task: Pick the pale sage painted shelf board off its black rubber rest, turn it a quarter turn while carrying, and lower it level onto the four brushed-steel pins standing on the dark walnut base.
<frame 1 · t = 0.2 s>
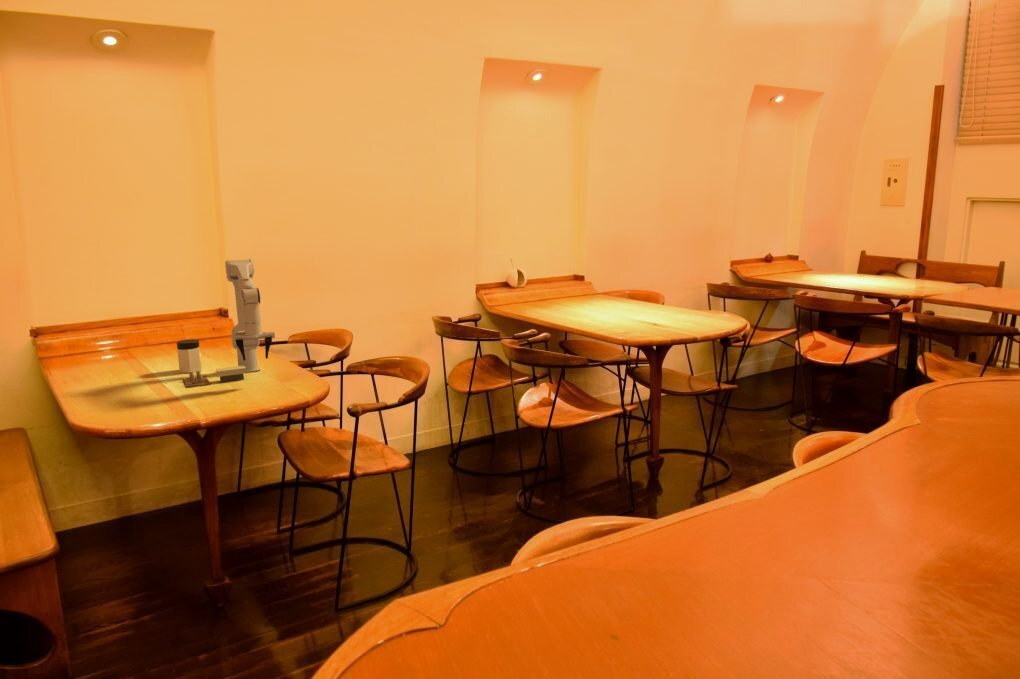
hand: (255, 358, 267), 10 cm above the table, fingers open, 7 cm apart
jar: (190, 371, 293), on the table
peg base: (196, 382, 274), on the table
shelf board: (231, 373, 276), point 2 cm above the table, touching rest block
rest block: (232, 380, 277), on the table
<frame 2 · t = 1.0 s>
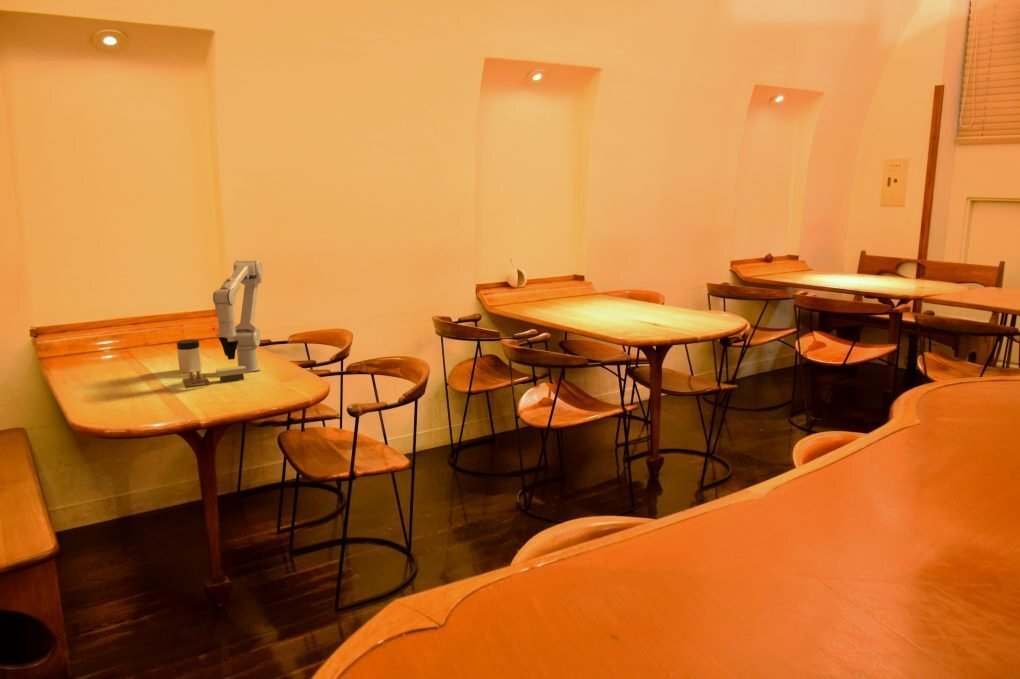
hand: (229, 357, 275), 9 cm above the table, fingers open, 7 cm apart
nothing on the table moved.
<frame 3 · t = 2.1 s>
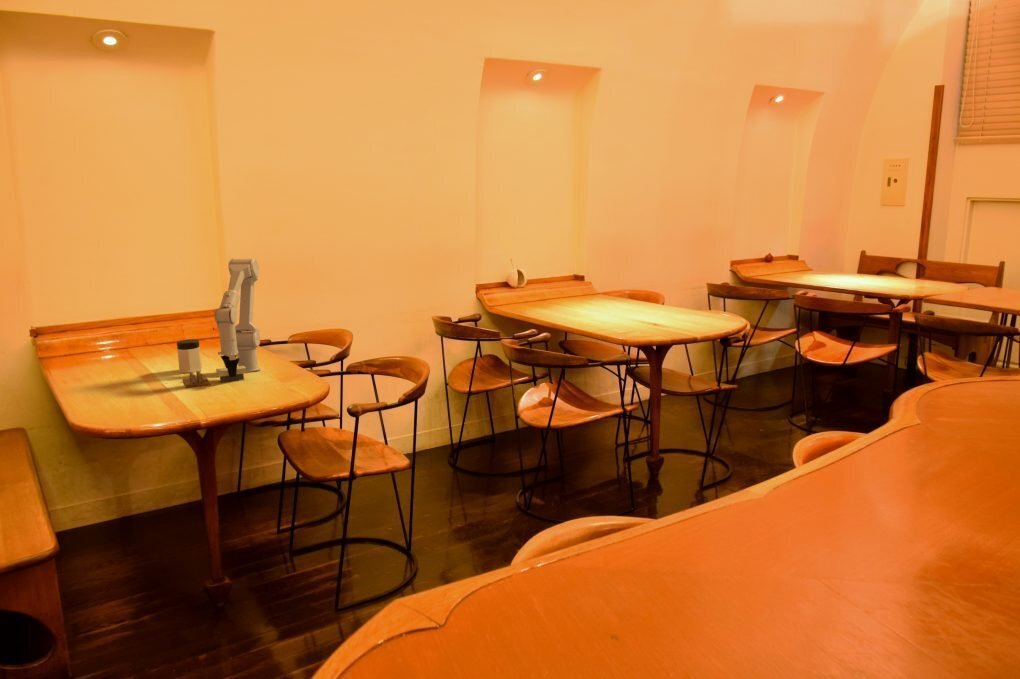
hand: (231, 375, 276), 2 cm above the table, fingers closed on shelf board, 4 cm apart
shelf board: (231, 373, 276), point 2 cm above the table, touching gripper, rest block
everything else where it was.
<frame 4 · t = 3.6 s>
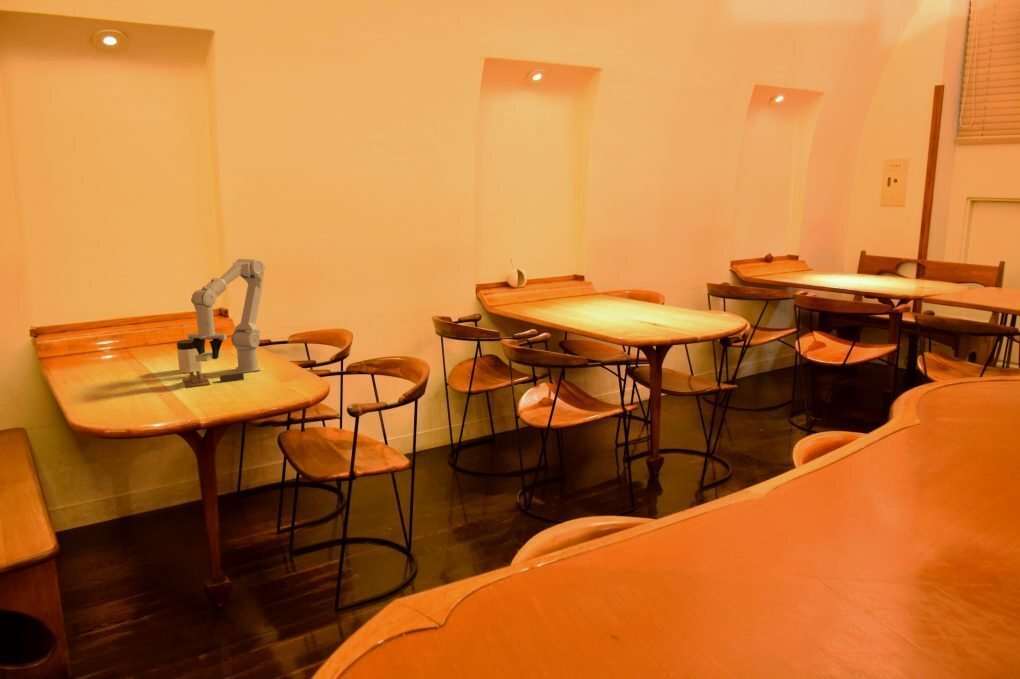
hand: (209, 358, 273), 9 cm above the table, fingers closed on shelf board, 5 cm apart
shelf board: (209, 358, 274), point 9 cm above the table, touching gripper
everything else where it was.
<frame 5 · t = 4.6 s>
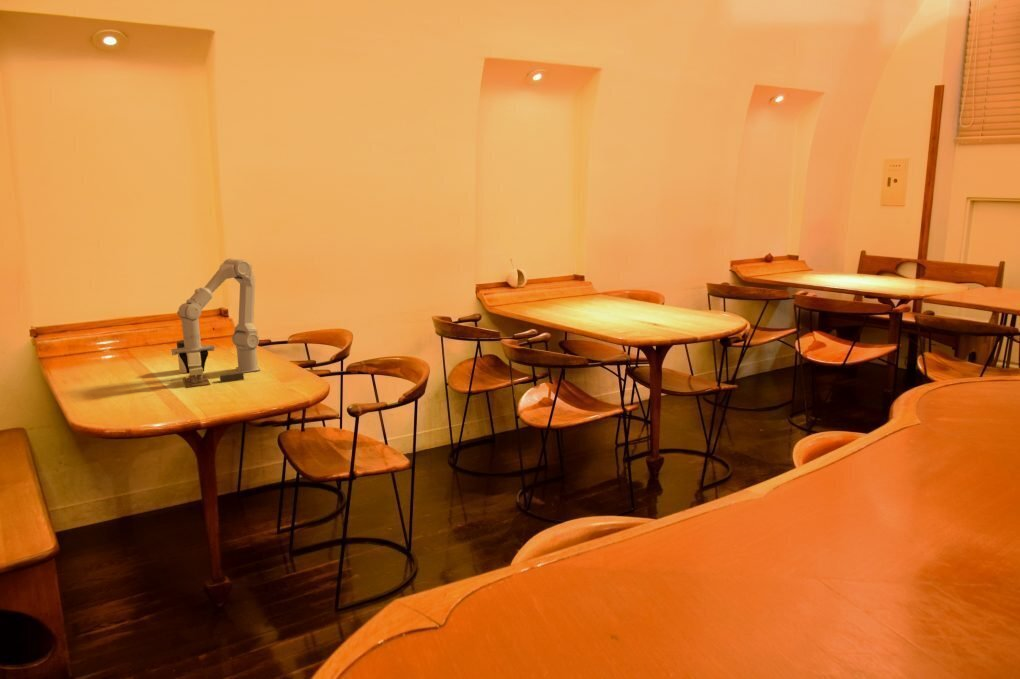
hand: (195, 371, 274), 4 cm above the table, fingers closed on shelf board, 4 cm apart
shelf board: (195, 372, 274), point 4 cm above the table, touching gripper
everything else where it was.
when the fingers open (4 cm above the table, at t = 5.2 s): shelf board stays where it is, resting on peg base.
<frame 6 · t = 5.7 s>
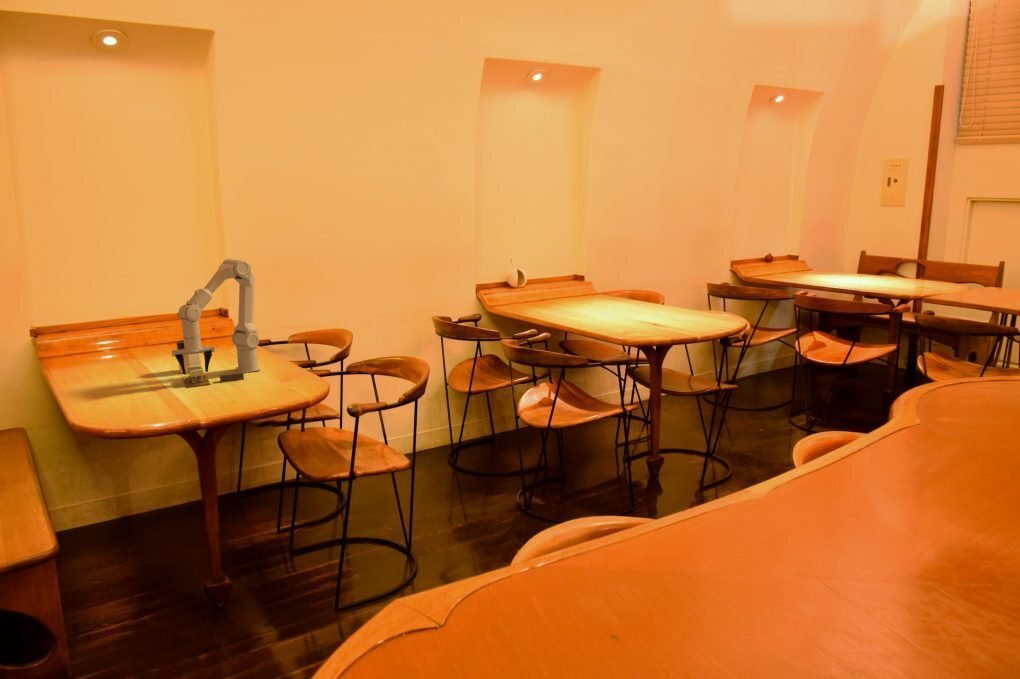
hand: (195, 372, 274), 4 cm above the table, fingers open, 7 cm apart
shelf board: (195, 373, 274), point 3 cm above the table, touching peg base
everything else where it was.
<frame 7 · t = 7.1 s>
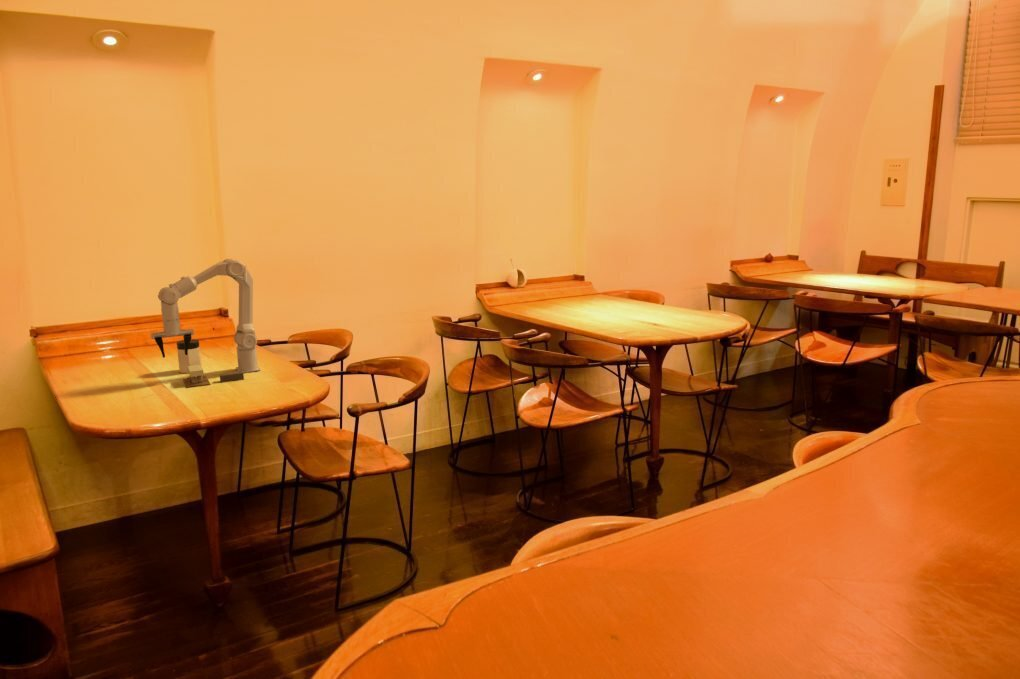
hand: (175, 355, 274), 10 cm above the table, fingers open, 7 cm apart
nothing on the table moved.
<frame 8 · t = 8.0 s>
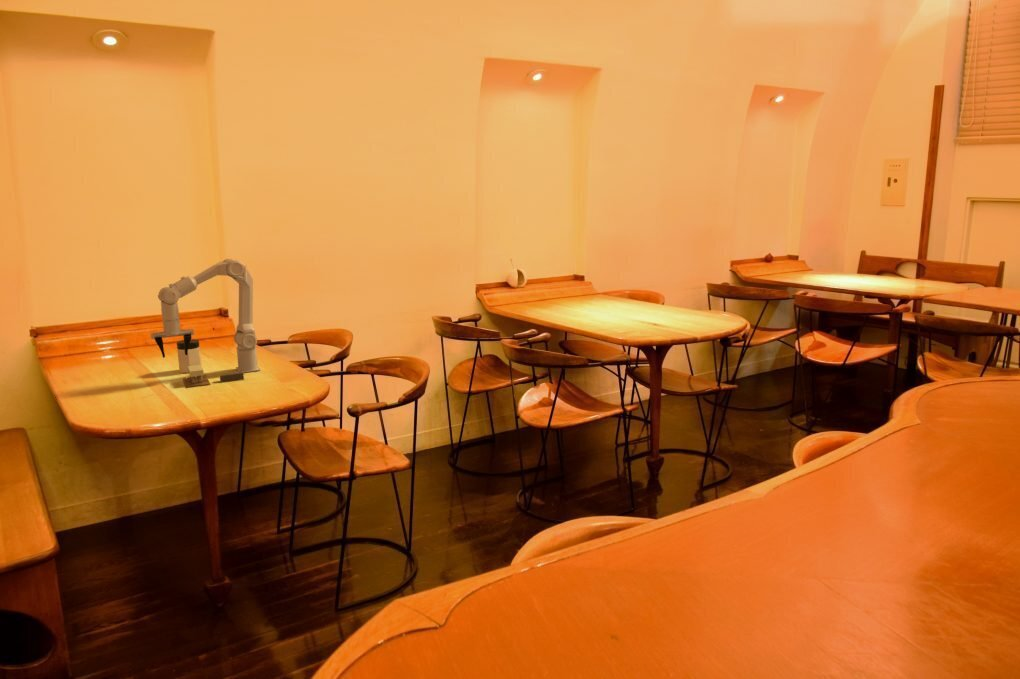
hand: (175, 355, 274), 10 cm above the table, fingers open, 7 cm apart
nothing on the table moved.
at the end: shelf board 0.2 cm off-centre on the peg base, point 3.4 cm above the peg base's base; shelf board tilted 0°; the gripper is holding nothing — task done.
